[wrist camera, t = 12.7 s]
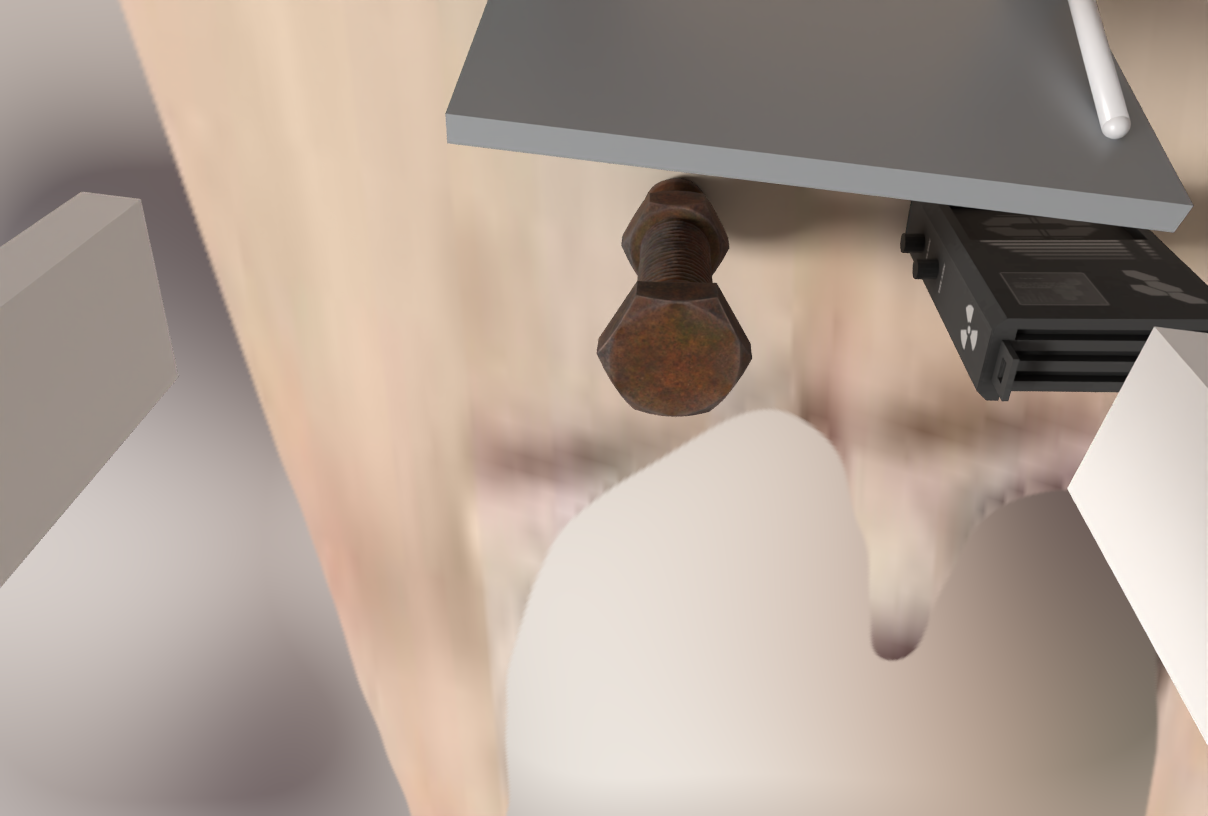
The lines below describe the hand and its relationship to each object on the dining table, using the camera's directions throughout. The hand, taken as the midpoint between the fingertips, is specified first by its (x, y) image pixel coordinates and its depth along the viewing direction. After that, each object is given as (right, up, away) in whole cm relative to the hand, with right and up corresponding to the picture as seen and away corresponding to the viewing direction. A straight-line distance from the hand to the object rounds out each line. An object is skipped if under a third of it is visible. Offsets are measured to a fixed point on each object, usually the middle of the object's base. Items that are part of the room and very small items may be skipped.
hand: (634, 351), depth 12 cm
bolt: (+3, +10, +33) cm, 35 cm away
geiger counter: (+19, +9, +33) cm, 39 cm away
